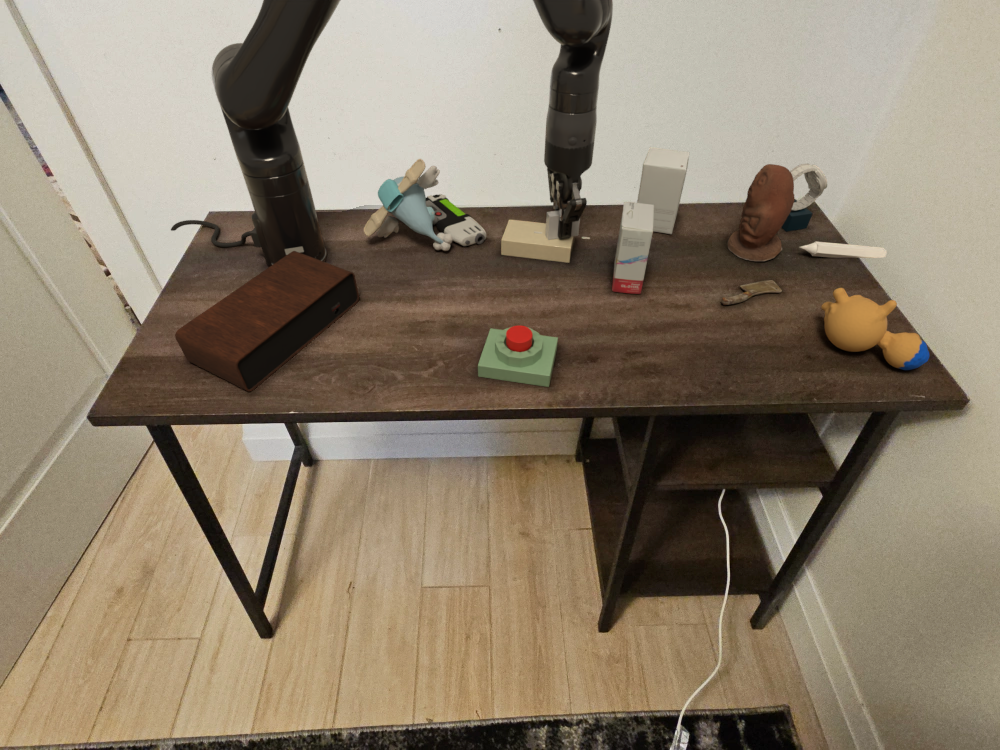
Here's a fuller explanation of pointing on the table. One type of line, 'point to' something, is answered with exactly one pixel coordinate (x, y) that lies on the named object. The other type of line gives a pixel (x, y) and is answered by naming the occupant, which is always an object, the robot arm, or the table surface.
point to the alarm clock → (268, 319)
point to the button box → (518, 359)
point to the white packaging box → (663, 185)
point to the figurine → (764, 214)
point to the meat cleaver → (752, 291)
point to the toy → (871, 330)
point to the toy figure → (408, 205)
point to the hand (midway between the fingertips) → (562, 233)
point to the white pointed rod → (843, 250)
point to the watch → (816, 184)
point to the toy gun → (455, 221)
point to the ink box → (633, 247)
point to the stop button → (519, 338)
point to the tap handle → (553, 222)
